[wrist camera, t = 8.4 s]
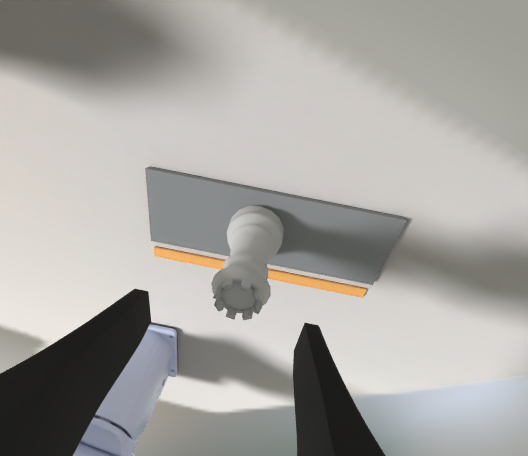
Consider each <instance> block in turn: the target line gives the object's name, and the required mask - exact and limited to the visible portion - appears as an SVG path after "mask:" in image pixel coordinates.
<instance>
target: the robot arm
mask: <svg viewBox="0 0 528 456" xmlns="http://www.w3.org/2000/svg"><path fill="white" fill-rule="evenodd" d="M150 323H151V316H150V305H149V295H148V291H143V290H138V289H134V290H132V291H131V292H129V293H128V294H127V295H125V296H124V297H122V298H121V299H120V300H118V301H117V302H115V303H114V304H112V305H111V306H110V307H108V308H107V309H105V310H104V311H102V312H101V313H100V314H98V315H97V316H95V317H94V318H92V319H91V320H89V321H88V322H86V323H85V324H83V325H82V326H80V327H79V328H77V329H76V330H74V331H73V332H71V333H69V334H68V335H66V336H65V337H63V338H62V339H60V340H58V341H57V342H55V343H54V344H52V345H50V346H49V347H47V348H45V349H44V350H42V351H40V352H39V353H37V354H35V355H33V356H32V357H30V358H28V359H26V360H25V361H23V362H21V363H19V364H17V365H16V366H14V367H12V368H10V369H9V370H6V371H5V372H3V373H1V374H0V456H136V455H134V454H133V452H134V449H135V447H136V445H137V441H135V440H136V439H137V438H138V437H139V436H140V435H141V433H142V432H143V431H144V429H145V427H146V425H147V423H148V421H149V419H150V416H151V414H152V412H153V410H154V407H155V405H156V403H157V401H158V398H159V396H160V394H161V392H162V389H163V387H164V385H165V383H166V380H167V378H168V376H171V377H176V375H177V332H176V330H175V329H172V328H167V327H162V326H157V325H152V324H150ZM293 382H294V399H295V414H296V428H297V429H296V430H297V456H385V454H384V453H383V451H382V449H381V448H380V446H379V445H378V443H377V442H376V440H375V438H374V437H373V435H372V433H371V432H370V430H369V428H368V427H367V425H366V423H365V421H364V420H363V418H362V416H361V414H360V412H359V411H358V409H357V407H356V405H355V403H354V401H353V399H352V398H351V396H350V394H349V392H348V390H347V388H346V386H345V384H344V382H343V380H342V378H341V376H340V374H339V372H338V369H337V367H336V365H335V363H334V361H333V359H332V356H331V354H330V352H329V349H328V347H327V345H326V342H325V340H324V337H323V335H322V332H321V330H320V327H319V326H318V325H313V324H308V323H305V324H304V326H303V329H302V331H301V334H300V336H299V339H298V342H297V344H296V347H295V349H294V363H293Z"/></svg>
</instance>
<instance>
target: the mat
mask: <svg viewBox="0 0 528 456" xmlns="http://www.w3.org/2000/svg"><path fill="white" fill-rule="evenodd" d="M145 170H146V182H147V195H148V208H149V220H150V233H151V241H155V242H160V243H165V244H170V245H175V246H180V247H185V248H190V249H195V250H200V251H205V252H210V253H215V254H220V255H225V256H230V253H231V249H230V246H229V244H228V240H227V229H228V227H229V223H230V220H231V218H232V216H233V215H234V214H235V213H236V212H237V211H238V210H240V209H243V208H245V207H248V206H261V207H264V208H266V209H269V210H271V211H272V212H273V213H274V214H276V215H277V216H278V217H279V218H280V221H281V223H282V225H283V228H284V231H283V239H282V244H281V246H280V248H279V250H278V252H277V253H276V254H275V255H274V256H272V257H271V258H270V259H269V260H268V263H267V264H271V265H276V266H281V267H286V268H291V269H296V270H301V271H306V272H311V273H316V274H321V275H326V276H331V277H336V278H341V279H346V280H351V281H356V282H361V283H366V284H371V285H373V283H374V281H375V279H376V278H377V276H378V274H379V272H380V270H381V268H382V266H383V265H384V263H385V261H386V259H387V257H388V255H389V253H390V252H391V250H392V248H393V246H394V244H395V242H396V240H397V238H398V237H399V235H400V233H401V231H402V229H403V227H404V225H405V224H406V222H407V220H406V219H405V218H404V217H401V216H396V215H391V214H386V213H381V212H376V211H371V210H366V209H361V208H356V207H351V206H346V205H341V204H336V203H331V202H325V201H320V200H315V199H310V198H305V197H300V196H295V195H290V194H285V193H280V192H275V191H270V190H265V189H260V188H255V187H250V186H245V185H240V184H235V183H230V182H225V181H220V180H215V179H210V178H205V177H200V176H195V175H190V174H185V173H180V172H175V171H170V170H165V169H159V168H154V167H147V168H145Z"/></svg>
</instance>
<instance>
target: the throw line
mask: <svg viewBox="0 0 528 456" xmlns="http://www.w3.org/2000/svg"><path fill="white" fill-rule="evenodd" d="M154 253H155V256H156V257H161V258H166V259H171V260H176V261H181V262H186V263H191V264H196V265H201V266H206V267H211V268H216V269H223V265H224V262H225V260H221V259H216V258H211V257H206V256H201V255H196V254H191V253H186V252H181V251H176V250H171V249H166V248H161V247H156V246H155V247H154ZM267 279H272V280H277V281H282V282H287V283H292V284H297V285H302V286H307V287H312V288H317V289H322V290H327V291H332V292H337V293H342V294H347V295H352V296H357V297H362V298H363V296H364V294H365V292H366V291H367V289H366V288H362V287H357V286H352V285H347V284H342V283H337V282H332V281H327V280H322V279H317V278H312V277H307V276H302V275H297V274H292V273H287V272H282V271H277V270H272V269H268V278H267Z"/></svg>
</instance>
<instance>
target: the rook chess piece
mask: <svg viewBox="0 0 528 456" xmlns="http://www.w3.org/2000/svg"><path fill="white" fill-rule="evenodd" d="M283 231H284V228H283V225H282V223H281V221H280V218H279V217H278V216H277V215H276V214H274V213H273V212H272V211H271V210H269V209H266V208H264V207H261V206H248V207H245V208H243V209H240V210H238V211H237V212H236V213H235V214H234V215H233V216H232V218H231V220H230V223H229V227H228V229H227V240H228V244H229V246H230V249H231V253H230V257H229V258H228V259H226V260H225V262H224V265H223V269H221V270H220V271H219V272H218V273H217V274H216V275H215V276H214V278H213V281H212V283H211V284H212V290H213V293H214V297H213V298H215V299H216V302H215V304H214V305H215V307H216V308H217V310H218V311H221V310H223V308H224V307H225V308H226V309H227V310H228V311H227V314H226V317H229V318H231V319H235V315H236V313H243V315H242V317H243V320H247V319H251V318H252V314H253V311H254V312H255V313H257V314H259V312H260V310H261V308H262V306H263V305H264V304H266V302H267V301H268V299H269V297H270V285H269V283H268V281H267V278H268V268H267V263H268V260H269V259H270V258H271V257H272V256H274V255H275V254H276V253H277V252H278V250H279V248H280V246H281V244H282V239H283Z"/></svg>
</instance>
